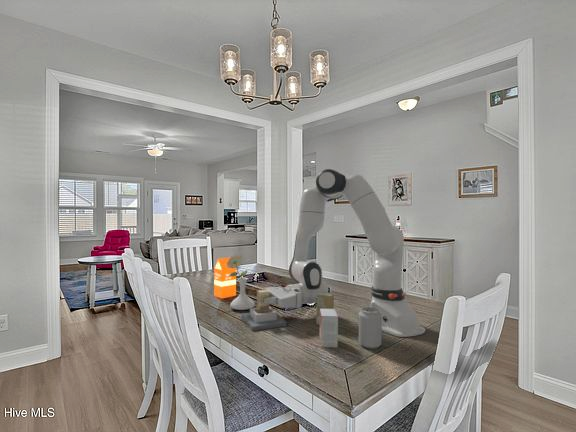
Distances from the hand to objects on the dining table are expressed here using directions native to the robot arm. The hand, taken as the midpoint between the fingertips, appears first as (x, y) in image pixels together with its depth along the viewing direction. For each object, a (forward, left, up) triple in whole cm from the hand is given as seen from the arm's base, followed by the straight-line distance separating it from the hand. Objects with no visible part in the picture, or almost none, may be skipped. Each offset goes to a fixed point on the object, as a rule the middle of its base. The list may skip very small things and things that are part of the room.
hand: (261, 298), depth 127 cm
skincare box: (-12, -23, -10) cm, 28 cm away
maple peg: (0, -1, -8) cm, 8 cm away
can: (-35, -27, -10) cm, 45 cm away
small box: (-28, -15, -10) cm, 33 cm away
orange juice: (+45, +5, -10) cm, 46 cm away
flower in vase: (+20, +3, -10) cm, 22 cm away
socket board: (0, -1, -9) cm, 10 cm away
